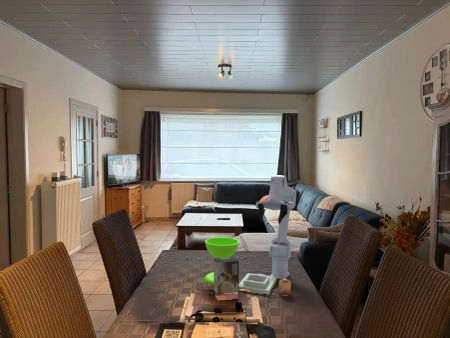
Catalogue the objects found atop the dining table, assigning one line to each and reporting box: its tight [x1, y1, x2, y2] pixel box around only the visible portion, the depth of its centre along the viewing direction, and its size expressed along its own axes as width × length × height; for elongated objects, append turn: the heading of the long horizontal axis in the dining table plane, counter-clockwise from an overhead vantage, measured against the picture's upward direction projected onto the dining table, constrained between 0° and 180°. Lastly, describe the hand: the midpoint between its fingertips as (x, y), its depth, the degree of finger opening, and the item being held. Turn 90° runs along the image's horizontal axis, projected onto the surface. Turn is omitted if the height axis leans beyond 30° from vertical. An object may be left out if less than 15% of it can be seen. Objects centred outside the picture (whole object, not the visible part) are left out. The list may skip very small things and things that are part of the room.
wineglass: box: [204, 236, 240, 285], centre depth 169 cm, size 16×16×18 cm
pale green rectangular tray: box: [239, 272, 278, 296], centre depth 162 cm, size 18×14×4 cm
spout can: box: [278, 278, 292, 296], centre depth 153 cm, size 5×5×6 cm
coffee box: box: [213, 256, 240, 294], centre depth 148 cm, size 9×6×16 cm
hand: (269, 221), depth 147 cm, fingers open, 7 cm apart
